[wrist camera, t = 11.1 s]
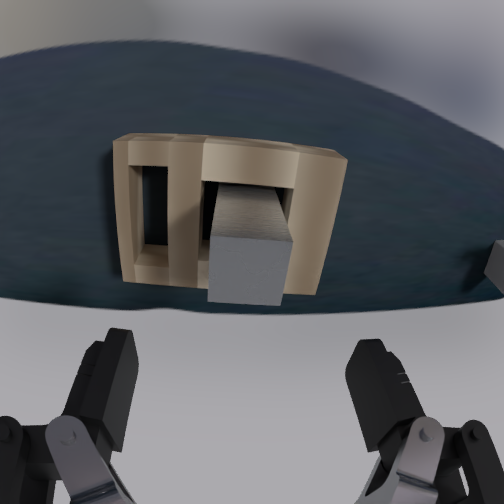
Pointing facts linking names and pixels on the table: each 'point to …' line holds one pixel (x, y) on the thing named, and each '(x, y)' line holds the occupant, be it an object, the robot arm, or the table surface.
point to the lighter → (496, 265)
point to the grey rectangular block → (248, 246)
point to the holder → (192, 202)
